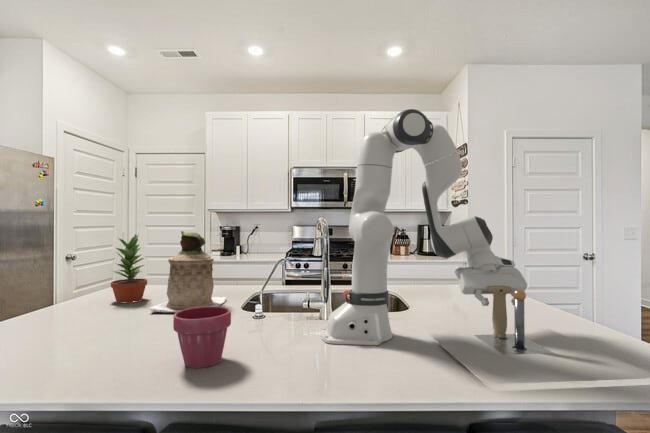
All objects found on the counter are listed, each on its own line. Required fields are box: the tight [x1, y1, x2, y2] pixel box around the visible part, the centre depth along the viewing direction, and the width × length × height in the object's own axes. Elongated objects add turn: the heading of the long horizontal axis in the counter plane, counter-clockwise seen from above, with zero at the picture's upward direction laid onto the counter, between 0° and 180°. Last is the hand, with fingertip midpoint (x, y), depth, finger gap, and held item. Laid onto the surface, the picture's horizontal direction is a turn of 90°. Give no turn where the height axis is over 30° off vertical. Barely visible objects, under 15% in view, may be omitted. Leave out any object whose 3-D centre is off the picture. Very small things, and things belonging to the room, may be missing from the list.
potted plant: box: [110, 233, 148, 303], centre depth 165 cm, size 15×15×30 cm
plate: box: [473, 333, 555, 355], centre depth 104 cm, size 14×16×1 cm
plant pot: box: [172, 305, 232, 369], centre depth 95 cm, size 14×14×13 cm
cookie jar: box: [149, 230, 228, 314], centre depth 154 cm, size 25×25×32 cm
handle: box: [488, 285, 511, 338], centre depth 110 cm, size 5×6×15 cm
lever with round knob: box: [512, 289, 527, 350], centre depth 100 cm, size 3×3×16 cm
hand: (501, 304), depth 109 cm, fingers open, 8 cm apart
